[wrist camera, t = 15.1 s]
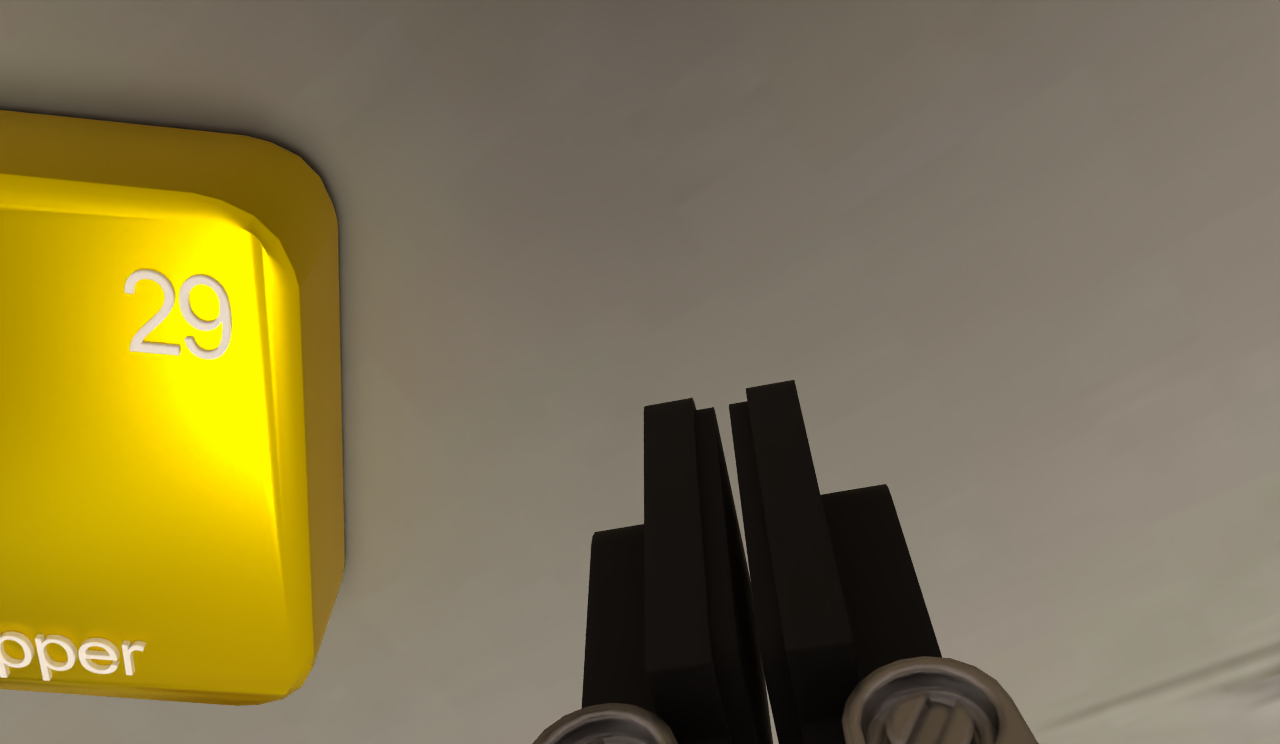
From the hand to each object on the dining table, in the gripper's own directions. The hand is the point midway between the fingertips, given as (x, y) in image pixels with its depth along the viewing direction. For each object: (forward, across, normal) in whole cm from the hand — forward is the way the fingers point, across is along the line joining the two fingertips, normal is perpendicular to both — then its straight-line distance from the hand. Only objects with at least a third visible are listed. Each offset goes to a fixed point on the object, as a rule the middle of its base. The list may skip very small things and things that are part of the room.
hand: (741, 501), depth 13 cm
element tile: (+16, +18, +4) cm, 25 cm away
